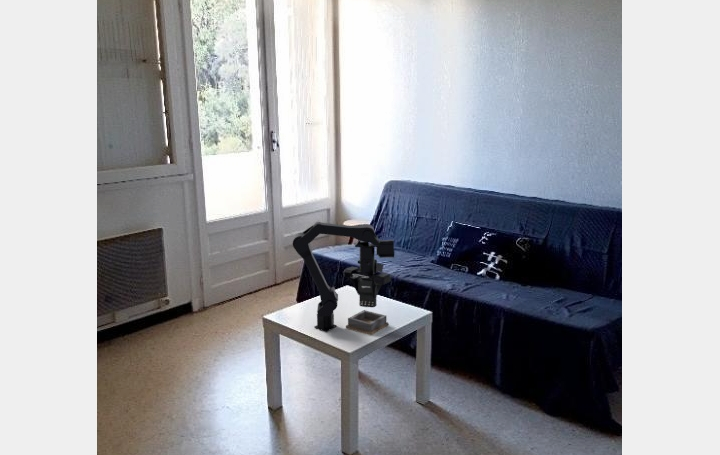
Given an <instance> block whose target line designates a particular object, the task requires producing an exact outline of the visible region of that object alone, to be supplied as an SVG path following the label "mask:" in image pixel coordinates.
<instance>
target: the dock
mask: <svg viewBox="0 0 720 455" xmlns="http://www.w3.org/2000/svg"><path fill="white" fill-rule="evenodd" d="M389 325H390V324H389V322H387V315H384V314H381V313H377V312H374V311H369V310H367V309H364V310H362V311H360V312H358V313H356V314H354V315H351V316H350V317H348V318H347V324H346V325H345V328H346V329H347V330H351V331H355V332H358V333H363V334H366V335H369V336H373V335H375V333H377V332H379V331H381V330H383V329H384V328H386V327H388V326H389Z"/></svg>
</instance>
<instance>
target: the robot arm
mask: <svg viewBox="0 0 720 455" xmlns="http://www.w3.org/2000/svg"><path fill="white" fill-rule="evenodd" d="M319 235H330V236H338V237H347V238H348V237H349V238H352V239H354V240H357V241H356V242H355V243H354V247H355V248H359V259H358V260H357V264H359V267H356V266H350V267H347V268H345V269H344V271H343V277H346V278H347V279H348V280H349V281H350V282H351V284H352V286H353V288H354V289H355V291H356V293H357V295H358V296H359V291H358V284H359V280H360V279H361V278H362V277H366V278H371V279H374V281H375V282H374V283H372V291H373V298H374V299H375V298H376V297H377V298H378V296H377V295H378V294H379V291H380V289H381V287H382V286H383V285H386V284H388V283H391V282H392V276H391V275H390V274H389V273H386V272H383V269H384V264H383V263H378V260H377V258H376V257H375V255H376V256H378V257H379V259H380V258H381V259H383V258H384V259H386V258H387V259H388V258H389V259H390V258H391V259H392V258H393V259H394V258H395V247H394V246H395V244H394V243H395V242H394V239H387V240H386V239H385V240H384V239H381V240H380V239H379V237H378V236H377V235H376V232H375V228H374V227H373V225H372V224H369V223H363V224H362V223H360V224H354V225H346V224H340V223H339V224H338V223H330V222H329V223H327V222H321V221H316V222H314V223H313V225H310V227H307V229H305V230H304V231H302V232H298V233H296V234H295V235H294V237H293V240H292V247H293V249H294V251H295V252H296V253H297V254H298V255H299V256H300V257H301V259H302V260H303V261H304V263H305V265H306V267H307V268H306V269H307V270H308V271H309V274H310V275H311V278H312V280H313V282H314V284H315V286H316V287H317V290H318V293H319V298H320V302H318V303H317V310H316V325H314V327H313V328H314V329H317V330H320V331H324V332H329V331H331V330H333V329H335V328H336V327H338V326H337V324H335V317H334V316H335V314H334V311H335V310H336V309H337V307H338V301H339V294H338V293H337V292H336V289H335V286H332V287H330V286H329V285H328V283H327V281H326V279H325V276H324V274H323V272H322V270H321V268H320V266H319V264H318V262H317V260H316V258H315V256H314V254H313V251H312V245H311V242H312V241H314V240H315V239H316V238H317V237H318V236H319ZM375 253H376V254H375ZM378 272H380V273H378ZM377 273H378V274H377Z"/></svg>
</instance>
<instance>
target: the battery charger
mask: <svg viewBox="0 0 720 455" xmlns="http://www.w3.org/2000/svg"><path fill="white" fill-rule="evenodd" d="M374 282H375V281H374V279H371V278H366V277H362V278H361V279H360V280H359V284H358V291H359V295H358V296H359V302H358V304H359V307H364V308H375V307H376V306H377V305H378V304H377V301H378V300H377V298H378V296H377V297H376V298H375V299H374V298H373V291H372V283H374Z"/></svg>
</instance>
